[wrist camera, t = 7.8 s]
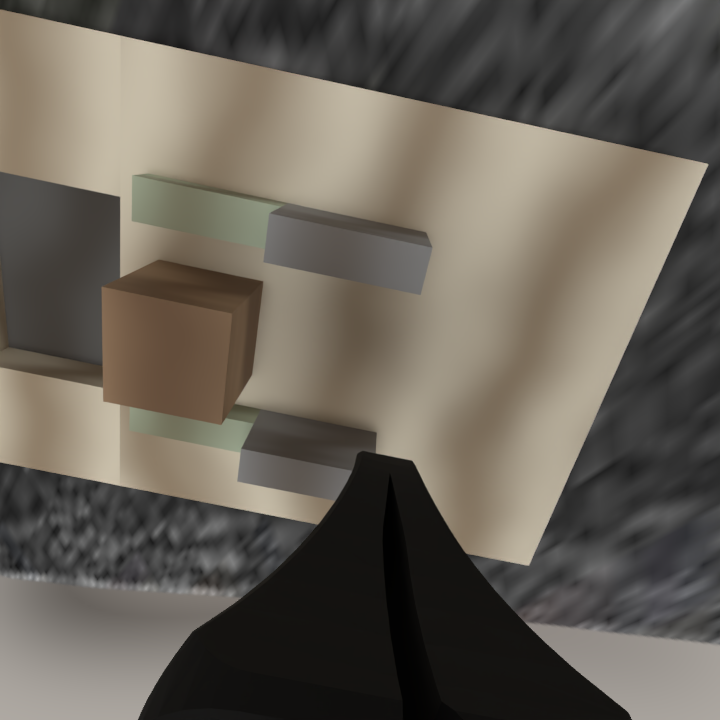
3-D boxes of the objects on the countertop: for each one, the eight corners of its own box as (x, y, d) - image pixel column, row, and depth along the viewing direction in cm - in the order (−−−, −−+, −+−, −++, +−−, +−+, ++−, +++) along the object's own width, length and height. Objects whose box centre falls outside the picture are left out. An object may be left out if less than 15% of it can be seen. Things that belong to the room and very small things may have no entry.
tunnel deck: (676, 162, 18) (773, 166, 14) (518, 535, 25) (547, 621, 21) (-62, 1, 17) (-223, -51, 13) (-10, 431, 25) (-102, 495, 20)
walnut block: (263, 281, 19) (232, 313, 15) (252, 375, 20) (221, 424, 17) (158, 259, 19) (101, 287, 15) (155, 355, 20) (103, 401, 17)
